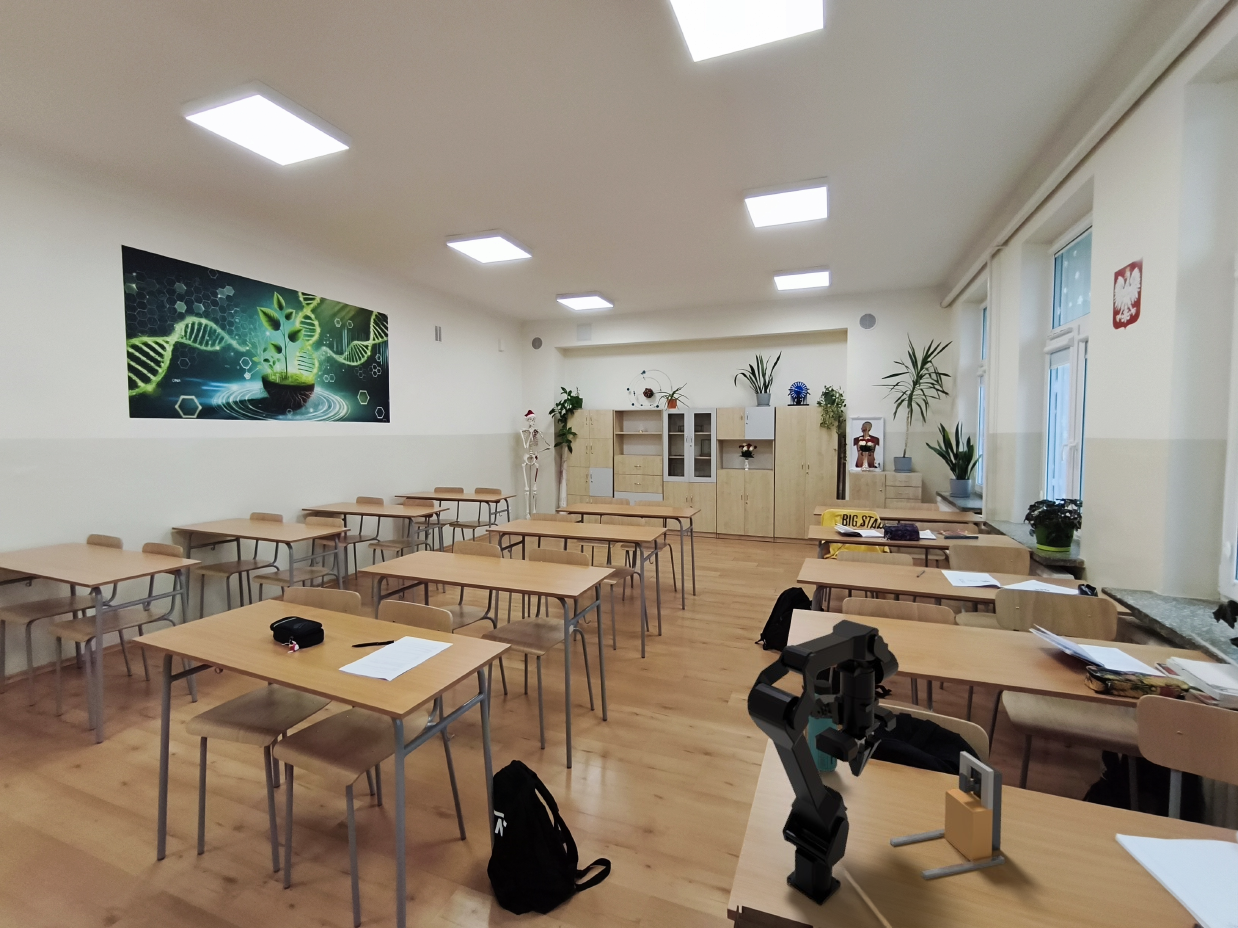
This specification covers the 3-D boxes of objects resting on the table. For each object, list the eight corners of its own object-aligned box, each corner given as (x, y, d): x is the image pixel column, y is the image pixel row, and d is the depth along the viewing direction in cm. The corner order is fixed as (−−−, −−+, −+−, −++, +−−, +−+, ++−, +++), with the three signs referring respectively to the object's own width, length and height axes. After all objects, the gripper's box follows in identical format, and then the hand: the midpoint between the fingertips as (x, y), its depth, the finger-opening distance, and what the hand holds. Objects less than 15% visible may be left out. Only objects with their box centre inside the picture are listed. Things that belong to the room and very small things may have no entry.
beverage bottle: (833, 782, 118) (833, 692, 117) (802, 771, 122) (803, 683, 121) (841, 767, 123) (842, 681, 122) (811, 757, 127) (812, 673, 126)
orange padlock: (972, 862, 94) (974, 773, 93) (944, 837, 100) (946, 754, 99) (991, 858, 95) (993, 770, 94) (962, 834, 101) (964, 751, 100)
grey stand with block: (928, 889, 90) (930, 801, 89) (886, 845, 100) (888, 765, 99) (1018, 870, 94) (1020, 785, 93) (969, 829, 103) (971, 752, 103)
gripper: (841, 663, 111) (840, 738, 112) (788, 691, 99) (788, 774, 100) (897, 682, 102) (896, 763, 103) (847, 715, 90) (846, 805, 91)
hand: (856, 775), depth 99 cm, fingers closed
